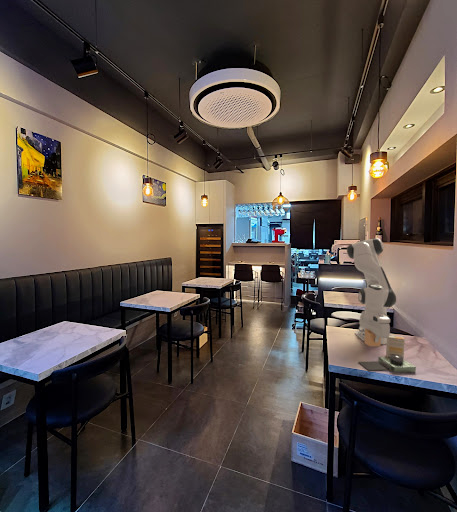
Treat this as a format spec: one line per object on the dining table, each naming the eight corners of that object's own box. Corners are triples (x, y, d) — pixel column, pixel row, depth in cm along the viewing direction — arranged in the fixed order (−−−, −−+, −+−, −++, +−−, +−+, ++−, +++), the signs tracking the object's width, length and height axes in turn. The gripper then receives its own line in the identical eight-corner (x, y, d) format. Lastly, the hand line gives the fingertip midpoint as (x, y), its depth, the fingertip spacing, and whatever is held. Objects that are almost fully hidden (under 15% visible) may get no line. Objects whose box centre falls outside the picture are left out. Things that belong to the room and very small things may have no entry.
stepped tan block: (364, 343, 137) (365, 328, 137) (374, 342, 138) (375, 328, 137) (369, 346, 133) (370, 331, 133) (380, 346, 133) (380, 331, 133)
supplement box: (401, 358, 147) (403, 336, 146) (403, 361, 143) (405, 339, 142) (385, 355, 150) (386, 333, 150) (386, 358, 146) (388, 336, 145)
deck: (377, 361, 141) (378, 351, 141) (397, 361, 142) (398, 351, 142) (393, 372, 129) (394, 361, 129) (415, 372, 130) (416, 361, 130)
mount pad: (358, 362, 140) (358, 361, 140) (376, 362, 141) (376, 361, 141) (368, 371, 131) (368, 369, 131) (388, 370, 132) (388, 369, 132)
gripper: (357, 309, 145) (355, 332, 145) (381, 320, 124) (379, 347, 125) (367, 309, 145) (366, 332, 146) (392, 320, 125) (391, 347, 126)
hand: (372, 339), depth 135 cm, fingers closed on stepped tan block, 4 cm apart
